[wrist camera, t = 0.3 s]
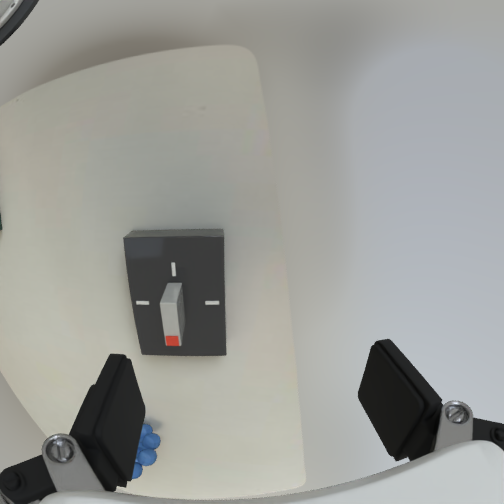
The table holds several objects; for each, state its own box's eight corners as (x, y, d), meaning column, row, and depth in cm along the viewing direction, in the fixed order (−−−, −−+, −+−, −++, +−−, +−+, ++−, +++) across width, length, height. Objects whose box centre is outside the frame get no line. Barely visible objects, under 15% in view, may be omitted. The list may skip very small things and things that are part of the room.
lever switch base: (131, 230, 29) (122, 238, 26) (223, 228, 30) (223, 236, 27) (146, 340, 33) (141, 355, 30) (225, 341, 34) (226, 356, 31)
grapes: (117, 440, 39) (105, 491, 28) (97, 417, 37) (79, 471, 26) (173, 436, 39) (169, 494, 28) (155, 413, 37) (145, 475, 26)
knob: (167, 282, 28) (158, 304, 23) (182, 282, 28) (176, 304, 24) (171, 321, 29) (165, 347, 25) (185, 321, 30) (181, 347, 25)
